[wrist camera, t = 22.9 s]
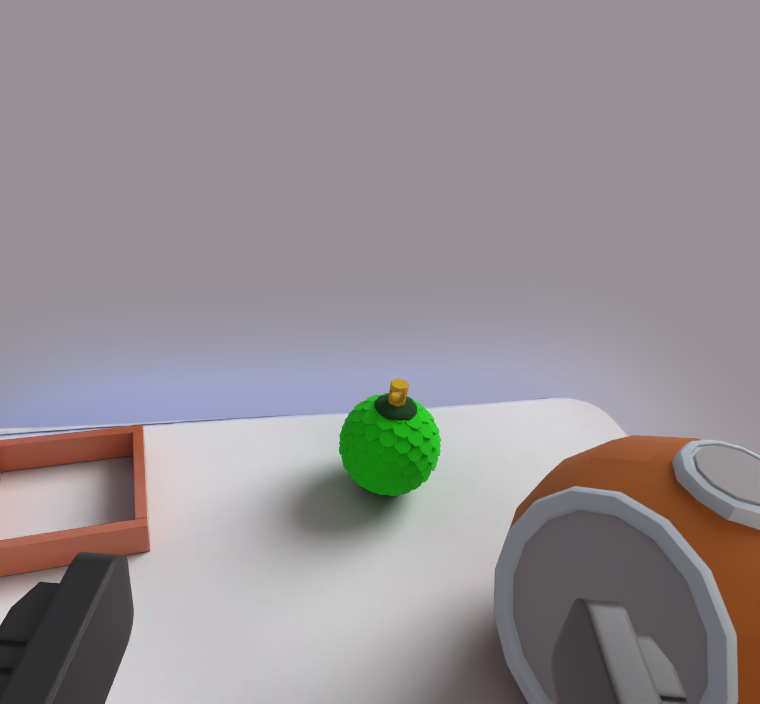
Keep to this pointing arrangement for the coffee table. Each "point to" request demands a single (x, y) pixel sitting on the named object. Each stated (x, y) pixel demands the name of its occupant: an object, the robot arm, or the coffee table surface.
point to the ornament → (390, 442)
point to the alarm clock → (641, 561)
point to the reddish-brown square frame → (95, 539)
